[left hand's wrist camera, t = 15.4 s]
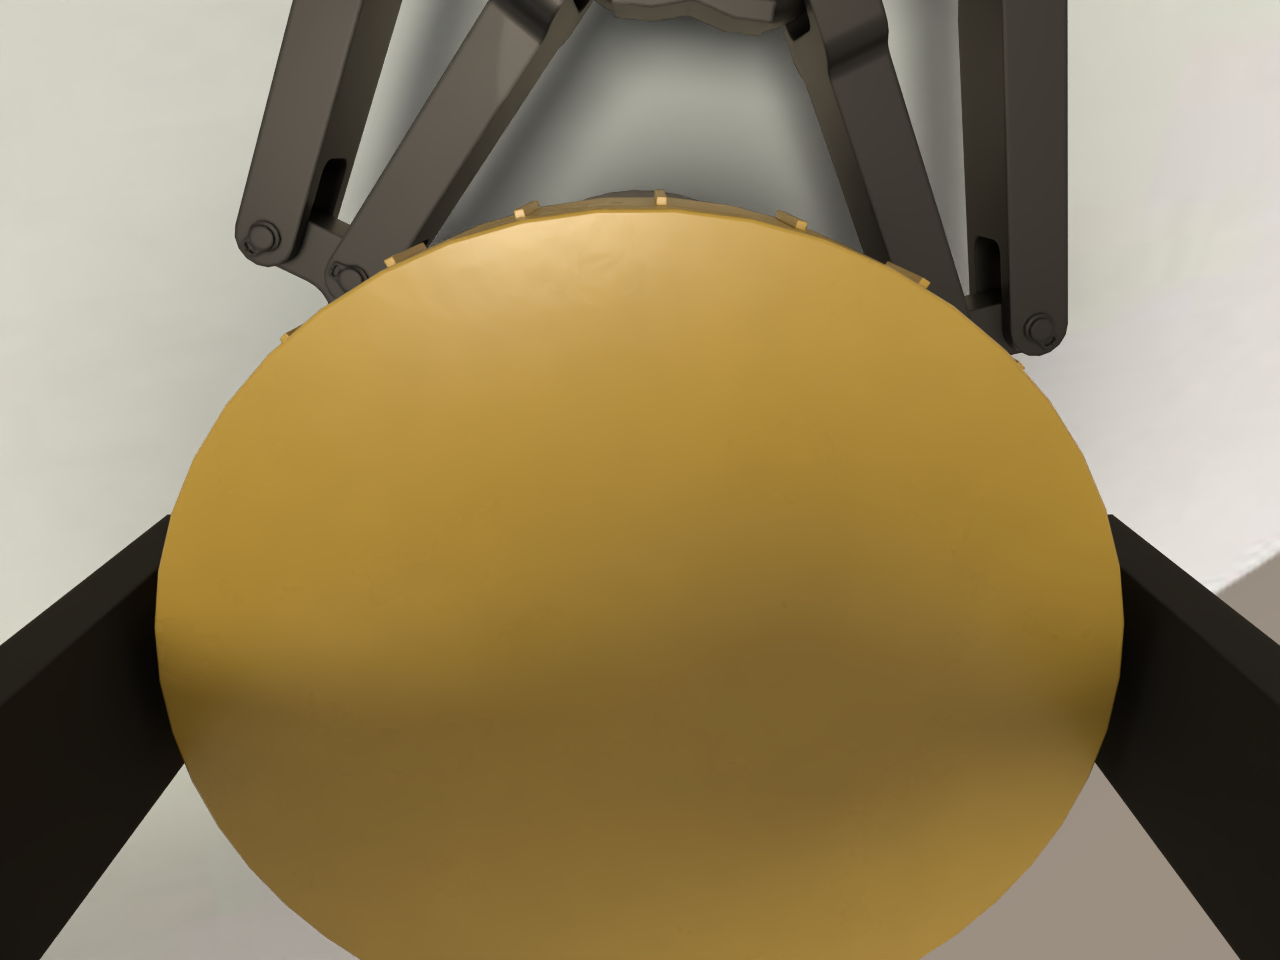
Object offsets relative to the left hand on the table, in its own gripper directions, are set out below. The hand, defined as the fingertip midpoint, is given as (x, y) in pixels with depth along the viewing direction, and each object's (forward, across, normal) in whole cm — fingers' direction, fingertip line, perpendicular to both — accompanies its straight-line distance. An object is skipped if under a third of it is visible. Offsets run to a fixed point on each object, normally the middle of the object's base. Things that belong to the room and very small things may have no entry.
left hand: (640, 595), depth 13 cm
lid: (-2, 0, 0) cm, 2 cm away
